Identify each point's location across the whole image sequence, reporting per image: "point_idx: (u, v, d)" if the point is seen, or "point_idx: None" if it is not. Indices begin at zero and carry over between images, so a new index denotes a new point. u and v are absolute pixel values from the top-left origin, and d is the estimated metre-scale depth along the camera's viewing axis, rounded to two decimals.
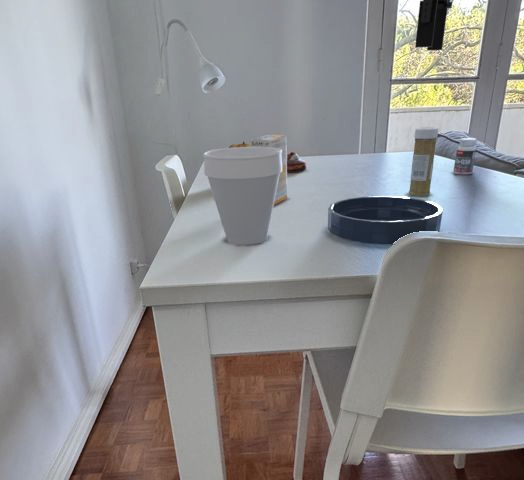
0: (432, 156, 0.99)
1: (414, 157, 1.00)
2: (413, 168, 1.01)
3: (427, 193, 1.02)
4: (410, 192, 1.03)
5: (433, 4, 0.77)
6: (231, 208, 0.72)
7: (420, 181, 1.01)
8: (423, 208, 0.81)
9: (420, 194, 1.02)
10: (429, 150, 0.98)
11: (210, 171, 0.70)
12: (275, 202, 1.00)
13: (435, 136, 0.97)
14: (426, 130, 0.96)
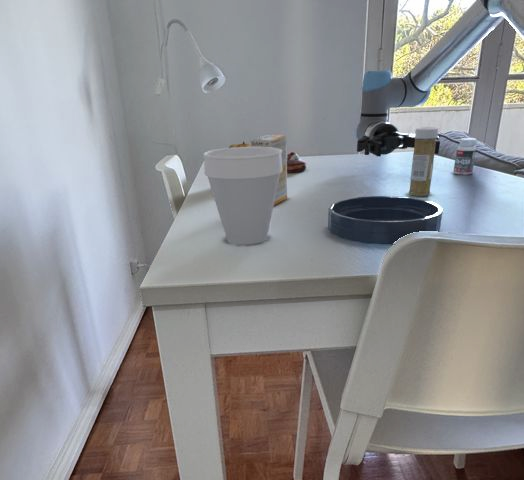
0: (432, 156, 0.99)
1: (414, 157, 1.00)
2: (413, 168, 1.01)
3: (427, 193, 1.02)
4: (410, 192, 1.03)
5: (371, 142, 1.12)
6: (231, 208, 0.72)
7: (420, 181, 1.01)
8: (423, 208, 0.81)
9: (420, 194, 1.02)
10: (429, 150, 0.98)
11: (210, 171, 0.70)
12: (275, 202, 1.00)
13: (435, 136, 0.97)
14: (426, 130, 0.96)
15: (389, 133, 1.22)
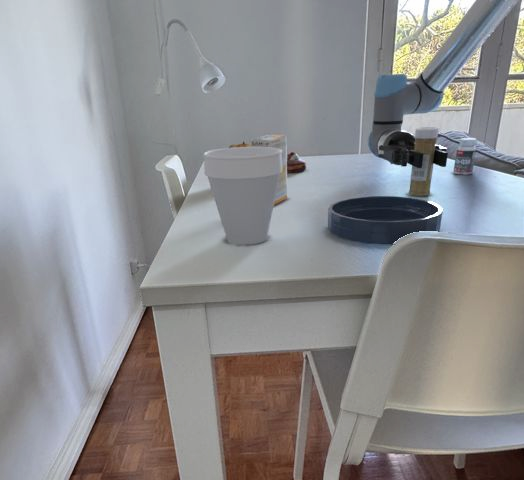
0: (432, 156, 0.99)
1: None
2: (413, 168, 1.01)
3: (427, 193, 1.02)
4: (410, 192, 1.03)
5: (409, 152, 1.00)
6: (231, 208, 0.72)
7: (420, 181, 1.01)
8: (423, 208, 0.81)
9: (420, 194, 1.02)
10: (429, 150, 0.98)
11: (210, 171, 0.70)
12: (275, 202, 1.00)
13: (435, 136, 0.97)
14: (426, 130, 0.96)
15: (405, 142, 1.12)
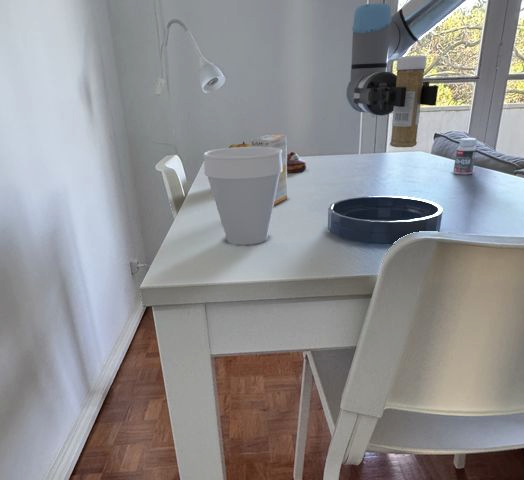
0: (419, 94, 0.77)
1: None
2: (395, 110, 0.79)
3: (413, 143, 0.80)
4: (391, 143, 0.82)
5: (390, 90, 0.78)
6: (231, 208, 0.72)
7: (403, 126, 0.79)
8: (423, 208, 0.81)
9: (404, 144, 0.80)
10: (414, 85, 0.76)
11: (210, 171, 0.70)
12: (275, 202, 1.00)
13: (422, 66, 0.75)
14: (410, 57, 0.74)
15: (388, 85, 0.90)
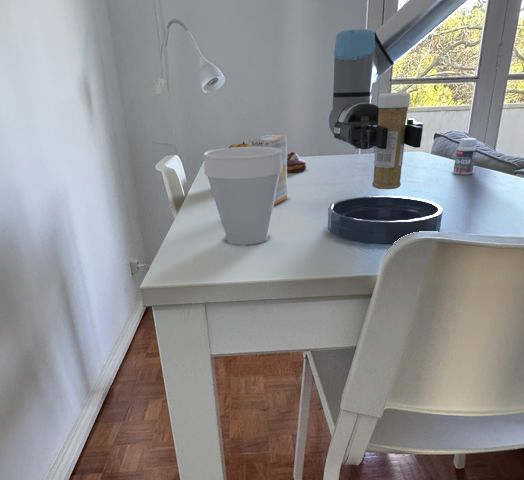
0: (402, 133, 0.71)
1: None
2: (377, 150, 0.73)
3: (396, 185, 0.74)
4: (374, 184, 0.76)
5: (371, 129, 0.72)
6: (231, 208, 0.72)
7: (386, 168, 0.73)
8: (423, 208, 0.81)
9: (387, 186, 0.74)
10: (397, 124, 0.70)
11: (210, 171, 0.70)
12: (275, 202, 1.00)
13: (405, 105, 0.69)
14: (393, 96, 0.68)
15: (371, 118, 0.84)
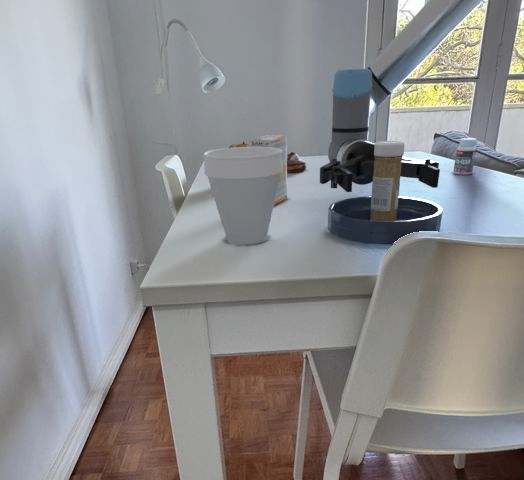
0: (397, 179, 0.74)
1: (374, 180, 0.75)
2: (373, 194, 0.76)
3: None
4: None
5: (339, 171, 0.77)
6: (231, 208, 0.72)
7: (382, 211, 0.76)
8: (423, 208, 0.81)
9: None
10: (392, 171, 0.73)
11: (210, 171, 0.70)
12: (275, 202, 1.00)
13: (400, 153, 0.72)
14: (388, 145, 0.71)
15: (369, 155, 0.87)
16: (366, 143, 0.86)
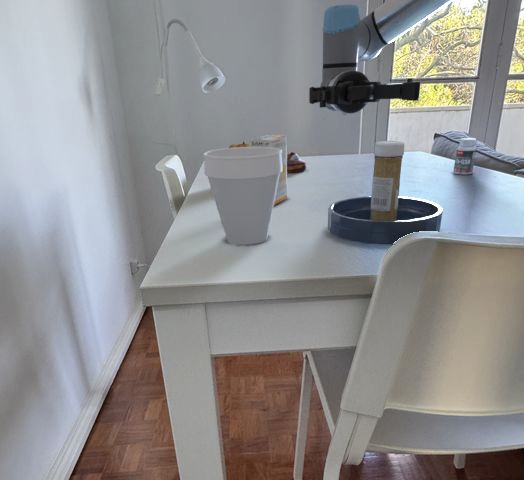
0: (397, 179, 0.74)
1: (374, 180, 0.75)
2: (373, 194, 0.76)
3: None
4: None
5: (327, 89, 0.83)
6: (231, 208, 0.72)
7: (382, 211, 0.76)
8: (423, 208, 0.81)
9: None
10: (392, 171, 0.73)
11: (210, 171, 0.70)
12: (275, 202, 1.00)
13: (400, 153, 0.72)
14: (388, 145, 0.71)
15: (356, 83, 0.93)
16: (353, 71, 0.92)
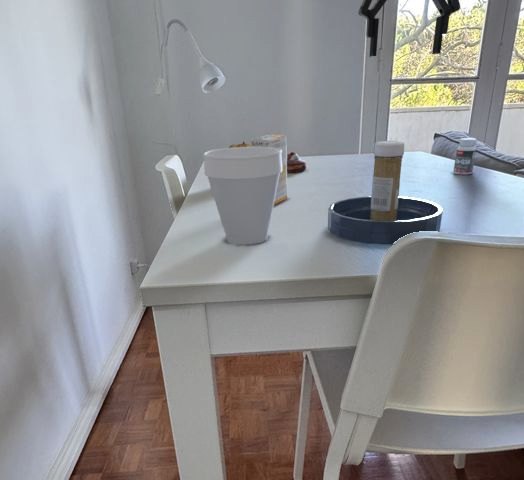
0: (397, 179, 0.74)
1: (374, 180, 0.75)
2: (373, 194, 0.76)
3: None
4: None
5: (374, 22, 0.95)
6: (231, 208, 0.72)
7: (382, 211, 0.76)
8: (423, 208, 0.81)
9: None
10: (392, 171, 0.73)
11: (210, 171, 0.70)
12: (275, 202, 1.00)
13: (400, 153, 0.72)
14: (388, 145, 0.71)
15: None
16: None
